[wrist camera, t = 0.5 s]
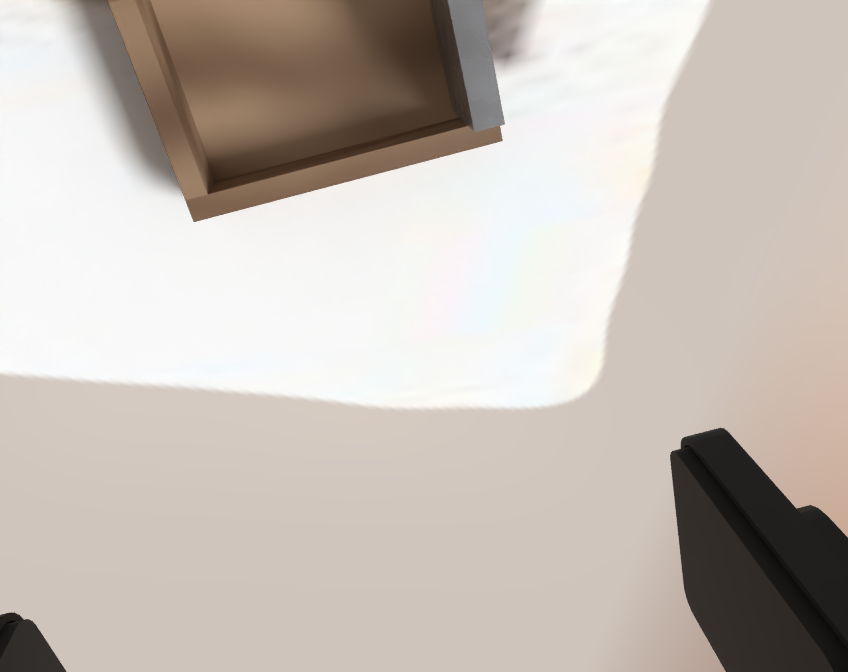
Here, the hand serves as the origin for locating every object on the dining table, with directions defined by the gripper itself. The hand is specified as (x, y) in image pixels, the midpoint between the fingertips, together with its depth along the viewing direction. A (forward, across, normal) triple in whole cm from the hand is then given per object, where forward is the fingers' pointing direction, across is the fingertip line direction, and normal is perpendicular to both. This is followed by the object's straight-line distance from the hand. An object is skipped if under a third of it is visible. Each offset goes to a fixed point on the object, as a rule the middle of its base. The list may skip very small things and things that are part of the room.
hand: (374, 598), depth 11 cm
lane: (+28, 0, -5) cm, 28 cm away
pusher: (+28, -6, -5) cm, 29 cm away
